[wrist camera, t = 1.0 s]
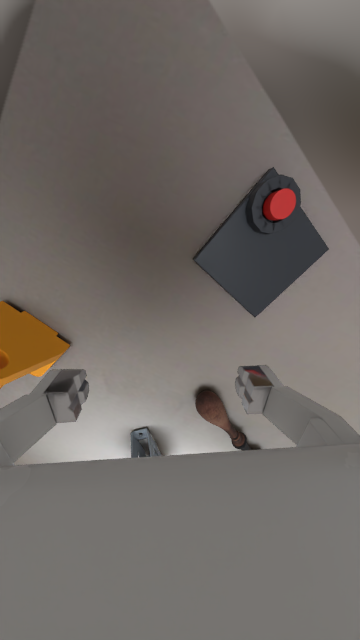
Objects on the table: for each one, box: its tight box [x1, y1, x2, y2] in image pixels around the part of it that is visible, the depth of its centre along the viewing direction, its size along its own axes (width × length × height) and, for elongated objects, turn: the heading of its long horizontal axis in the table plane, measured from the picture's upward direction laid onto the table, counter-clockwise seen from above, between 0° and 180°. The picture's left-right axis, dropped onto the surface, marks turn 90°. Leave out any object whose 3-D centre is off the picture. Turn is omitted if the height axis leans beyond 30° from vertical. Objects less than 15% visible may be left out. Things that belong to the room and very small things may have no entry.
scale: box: [193, 167, 329, 317], centre depth 25 cm, size 14×14×3 cm
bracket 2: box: [131, 428, 162, 458], centre depth 37 cm, size 13×10×15 cm
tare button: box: [263, 188, 296, 221], centre depth 21 cm, size 3×3×2 cm
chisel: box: [196, 391, 252, 451], centre depth 43 cm, size 5×43×5 cm, turn 32°
